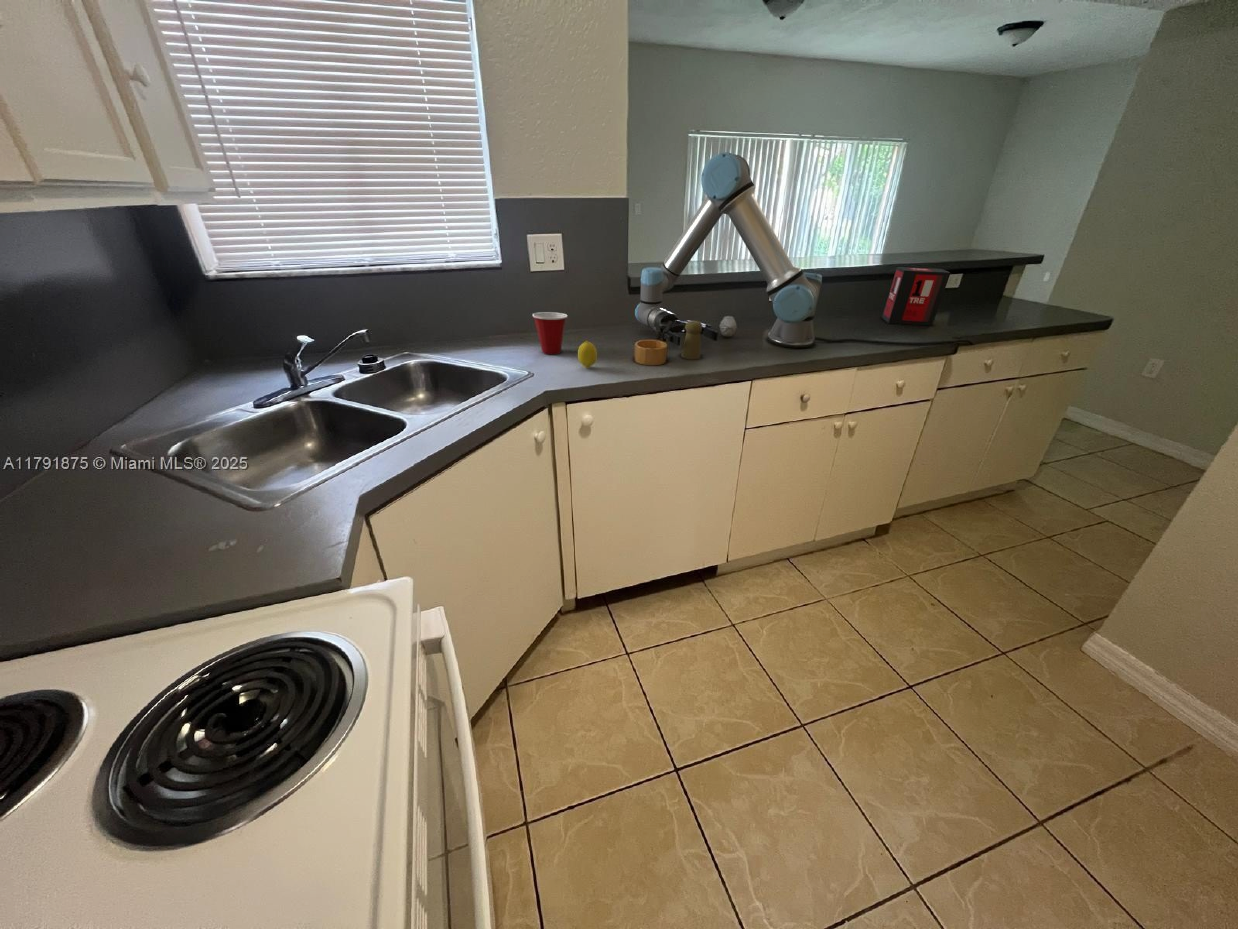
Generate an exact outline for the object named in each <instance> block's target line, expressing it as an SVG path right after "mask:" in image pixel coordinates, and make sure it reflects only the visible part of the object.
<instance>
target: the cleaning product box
mask: <svg viewBox="0 0 1238 929" xmlns="http://www.w3.org/2000/svg"><path fill="white" fill-rule="evenodd" d="M951 274H952V273H951V271H947V270H945V269H944V268H943V269H942V268H928V267H927V268H925V267H909V266H907V267H905V266H896V268H895V272H894V276H893V279H892V281H891V286H890V289H889V293H888V296H887V299H886V302H885V306H884V310H883V313H882V316H881V318H882V319H883V320H884V321H885V322H887V324H897V325H912V326H930V327H933V325H934V322H935V319H936V316H937V314H938V311H939V308H940V305H941V302H942V300H943V296H944V294H945V291H946V287H947V286H948V285H947V284H948V281H949V279H950V276H951Z"/></svg>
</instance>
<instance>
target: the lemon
mask: <svg viewBox="0 0 1238 929" xmlns="http://www.w3.org/2000/svg"><path fill="white" fill-rule="evenodd" d="M597 358H598V353H597V348H596V346H595V345H594V344H593V343H592V342H590V341H588V340H586V341H584V342H583V343H581V344H580V345H579V347H578V350H577V359H578V362H579V363H580V364H581V365H582V366H583V367H585V368H586V369H589V368H590V367H591V366H593V365H595V363H596V362H597Z"/></svg>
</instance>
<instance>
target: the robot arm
mask: <svg viewBox="0 0 1238 929" xmlns="http://www.w3.org/2000/svg"><path fill="white" fill-rule="evenodd" d="M700 184H701V188H702V191H703V192H704V194H705V196H706V197H705V198H704V200H703V202H702V203H701V204H700V206H699V207H698V209H697V210H696V212H695V214H694V215H693V216H692V218H691V219H690V221H689V222H688V224H687V226H686V227H685V228H684V230H683V231H682V233H681V235H680V236H679V238H678V239H677V241H676V242H675V244H674V245H673V247H672V248H671V250H670V251H669V253H668V254H667V256H666V257H665V259H664V261H663V263H662V264H661V265H660V267H653V266H652V267H644V268H643V269H642V270H641V276H640V299H639V300H640V301H639V303H637V306H636V307H635V309H634V317H635V319H636V320H637V321H638V322H639V323H640V324H642V325H643V326H647V327H648V328H650V329H652V330H653V332H654V334H655V340H659V341H660V340H661V341H663V342H665V343H667V341H668V342H670V343H672V344H673V345H675V346H677V347H679V346H681V335H678V334H679V333H680V334H686V333H687V332H686V330H685V325H686V323H687V322H688V321H691V320H689V319H687V320H685V321H683V320H680V319H679V318H678V316H677V315H676V314H675V313H673V312H671V311H669V310H667V309H665V308H662V302H663V293H665V292H667V291H670V290H672V289H673V288H674V287H675V286H674V283H675V282H676V280H677V279H679V278H680V276H681V274H682V273H683V271H684V270H685V268H686V267H687V266H688V264H689V263H690V262H691V260H692V259H693V257H694V256H695V254H696V253H697V251H698V250H699V248H700V247H701V246H702V245H703V243H704V242H705V240H706V238H707V237H708V236H709V234H710V233H711V232H712V230H713V228H715V226H716V224H717V223H718V221H719V220H720V219H721V218H722V216H723V215H727V216H728V218H729V219H730V220H731V222H732V224H733V226H734V228H735V229H736V231H737V234H739V237H740V238H741V240H742V242H743V243H744V245H745V247H746V249H747V250H748V252H749V253H750V255H751V257H752V259H753V261H754V263H755V264H756V266H757V268H758V269H759V271H760V273H761V275H762V276H763V278H764V280H765V281H766V284H767V285H766V290H765V292H766V294H767V296H768V297H769V299H770V301H771V303H772V310H773V312H774V314H775V316H776V317H777V318H776V320H775V322H774V324H773V326H772V327H771V329H770V331H769V333H768V337H767V340H768V342H769V343H770V344H773V345H776V346H778V347H782V348H783V347H784V348H792V349H805V348H810V347H811V348H812V347H813V346H814V342H815V341H820V342H821V341H822V342H826V343H841V342H843V343H844V342H853V343H854V342H855V343H866V344H879V345H881V344H882V345H896V346H929V345H941V344H956V343H957V344H958V343H965V342H966V343H969V344H970V345H971V346H976V344H975V342H974V341H973V340H971V339H970V338H969V339H968V338H961V339H947V340H946V339H945V340H935V341H912V342H911V341H887V340H873V339H864V338H863V339H862V338H837V339H836V338H835V339H834V338H833V339H831V338H824V337H819V336H815V331H814V317H815V313H816V308H817V304H818V300H819V296H820V290H821V287H822V284H823V276H822V274H820V273H811V272H804V271H803V270H802V268H800V267H796V266H794V265H793V263H792V261H791V260H790V258H789V256H788V254H787V253H786V250H785V249H784V248H783V244H782V243H781V241H780V240H779V238H778V236H777V234H776V232H775V231H774V229H773V228H772V225H771V224H770V222H769V220H768V218H767V217H766V214H765V213H764V212H763V209H762V208H761V206H760V204H759V202H758V201H757V199H756V197H755V190H756V185H755V184H754V182H753V180H752V178H751V168H750V164H749V163H748V161H747V160H746V159H745V158H744V157H742V156H741V155H739V154H735V153H732V152H727V151H726V152H720V153H718V154H715V155H713V156H712V157H711V158H710V159H709V160H707V162H706V163H705V165H704V167H703V169H702V172H701V177H700ZM677 281H678V280H677ZM673 286H674V287H673ZM701 324H702V330H701V332H700V335H702V336H703V337H706V338H708V339H710V340H712V341H715V342H717V341H718V335H719V331H716V330H715V329H712V324H708V323H702V322H701Z"/></svg>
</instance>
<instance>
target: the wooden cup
mask: <svg viewBox="0 0 1238 929" xmlns="http://www.w3.org/2000/svg"><path fill="white" fill-rule="evenodd" d="M668 347H669V346H668V343H667V342H663V341H662V340H660V339H659V340H657V339H640V340H638V341H636V342H635V344H634V361H635V363H637V364H641V365H644V366H660V365H664V364H665V363H666V362H667V358H668Z"/></svg>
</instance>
